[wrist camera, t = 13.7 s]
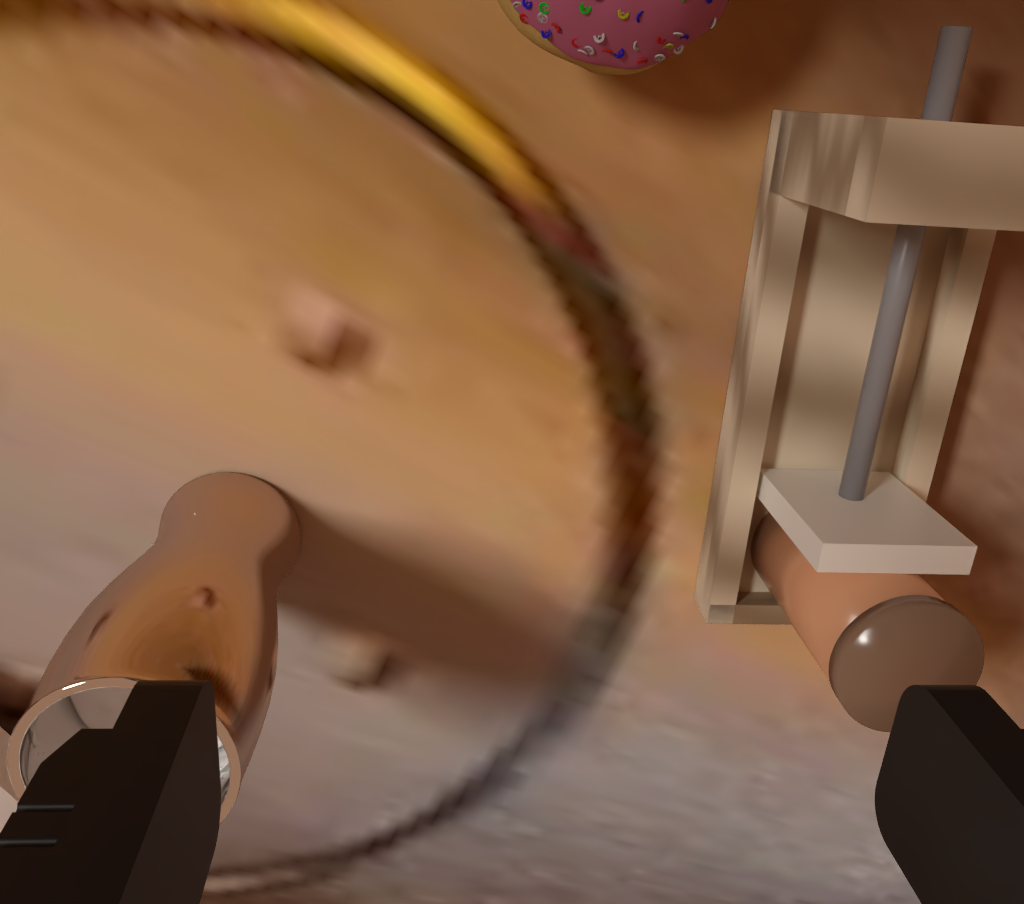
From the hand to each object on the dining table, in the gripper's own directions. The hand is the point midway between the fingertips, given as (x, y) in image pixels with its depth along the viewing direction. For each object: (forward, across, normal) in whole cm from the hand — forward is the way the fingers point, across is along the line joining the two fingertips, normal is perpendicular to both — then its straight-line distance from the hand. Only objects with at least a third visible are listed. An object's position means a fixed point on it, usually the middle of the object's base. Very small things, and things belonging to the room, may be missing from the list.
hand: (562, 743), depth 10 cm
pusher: (+27, -16, -1) cm, 31 cm away
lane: (+28, -16, +4) cm, 33 cm away
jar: (+27, -16, +11) cm, 33 cm away
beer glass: (+28, +10, +12) cm, 32 cm away
